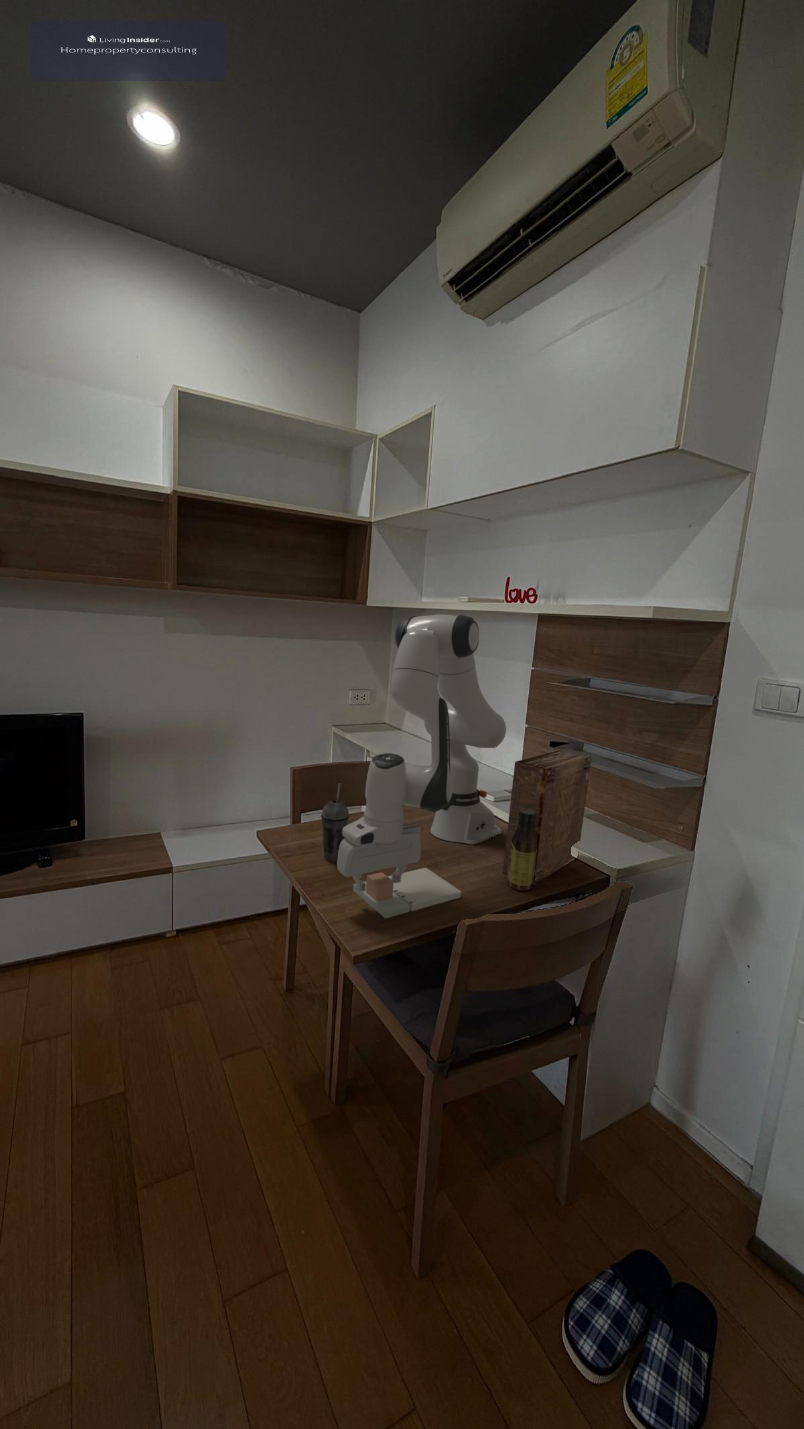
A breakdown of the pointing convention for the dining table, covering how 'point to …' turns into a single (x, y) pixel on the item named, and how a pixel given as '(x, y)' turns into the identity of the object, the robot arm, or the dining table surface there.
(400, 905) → the green slab pink block
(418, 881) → the board
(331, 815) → the beverage cup
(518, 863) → the sauce bottle
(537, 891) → the dining table surface
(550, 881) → the dining table surface
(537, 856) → the book
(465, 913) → the dining table surface
